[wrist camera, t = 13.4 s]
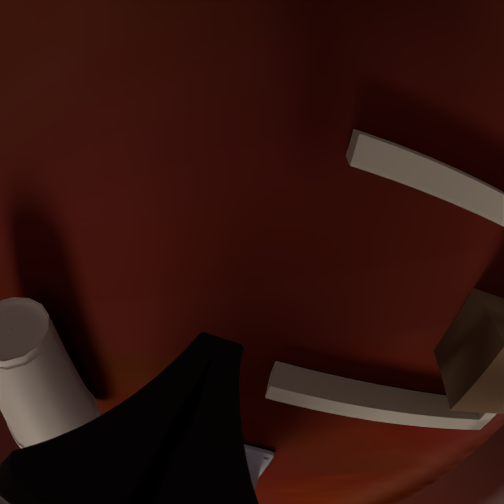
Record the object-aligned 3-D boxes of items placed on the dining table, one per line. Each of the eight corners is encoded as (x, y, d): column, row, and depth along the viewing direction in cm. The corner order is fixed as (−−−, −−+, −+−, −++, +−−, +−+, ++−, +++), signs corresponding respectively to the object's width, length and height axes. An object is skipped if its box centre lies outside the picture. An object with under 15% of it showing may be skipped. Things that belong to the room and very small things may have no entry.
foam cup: (90, 296, 21) (113, 399, 27) (-3, 276, 20) (36, 377, 26) (34, 401, 12) (90, 482, 19) (-67, 354, 11) (3, 448, 18)
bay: (474, 409, 17) (479, 429, 16) (270, 372, 19) (264, 397, 17) (586, 243, 10) (603, 259, 9) (353, 128, 12) (359, 133, 10)
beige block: (484, 360, 15) (504, 413, 12) (433, 349, 16) (450, 410, 12) (523, 304, 13) (555, 355, 9) (473, 287, 14) (505, 344, 10)
